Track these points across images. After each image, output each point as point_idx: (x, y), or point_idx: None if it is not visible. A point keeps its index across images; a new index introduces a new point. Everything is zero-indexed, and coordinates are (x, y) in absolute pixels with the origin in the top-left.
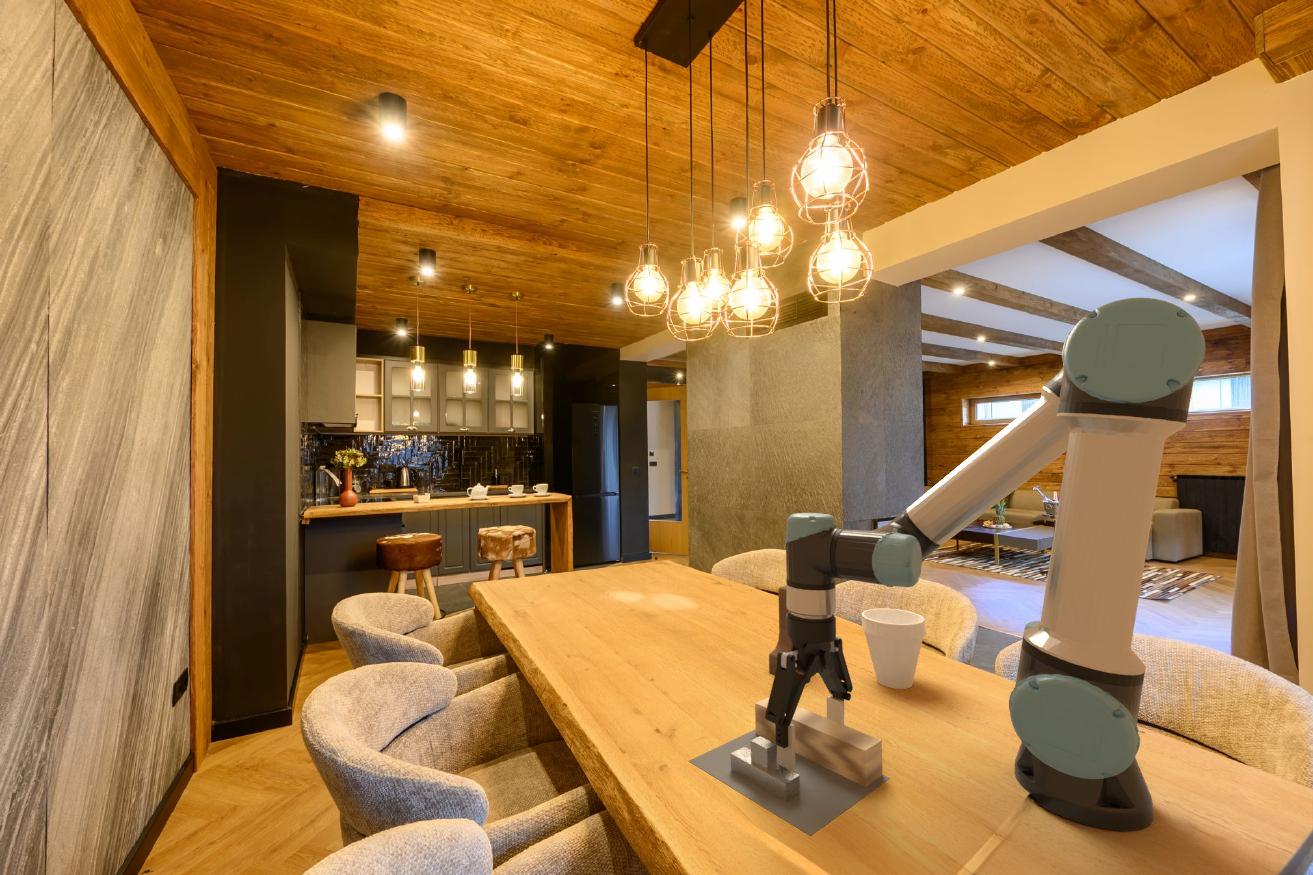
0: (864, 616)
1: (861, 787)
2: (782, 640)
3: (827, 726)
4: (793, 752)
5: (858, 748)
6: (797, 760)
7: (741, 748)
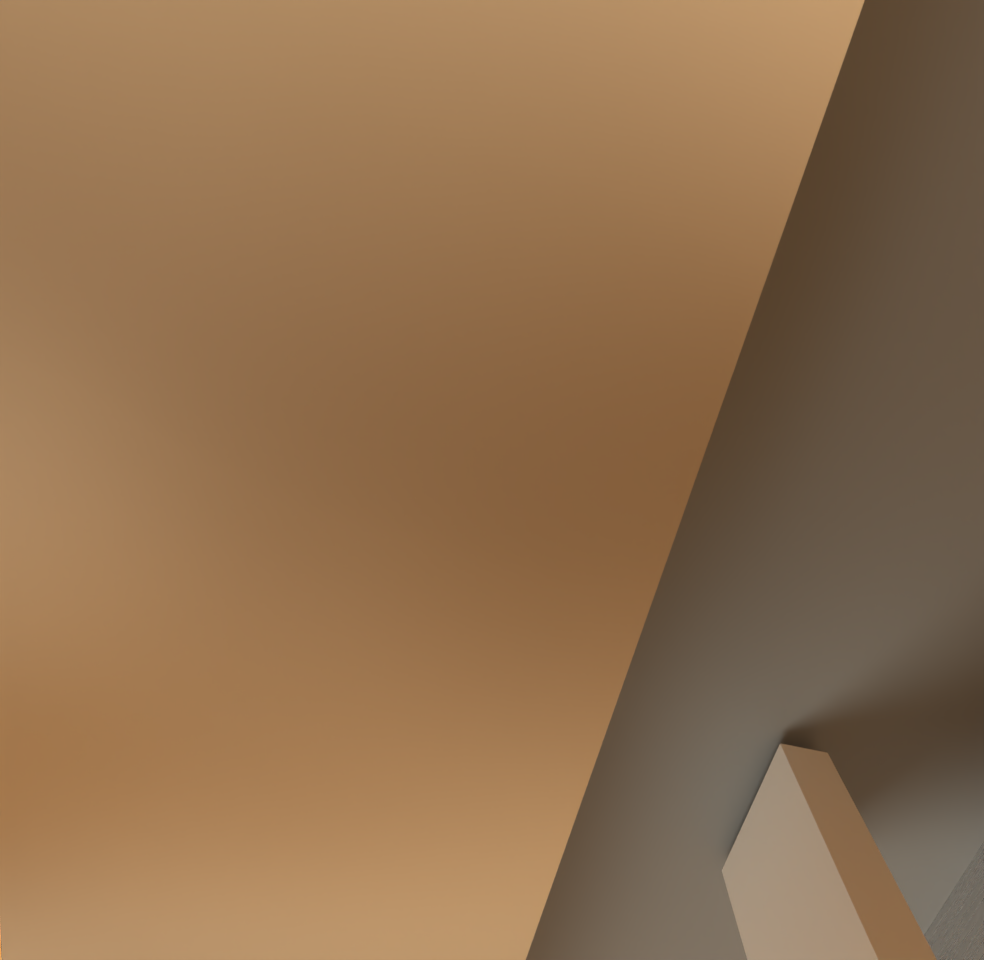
0: None
1: None
2: None
3: (281, 886)
4: (876, 902)
5: (820, 83)
6: None
7: None
